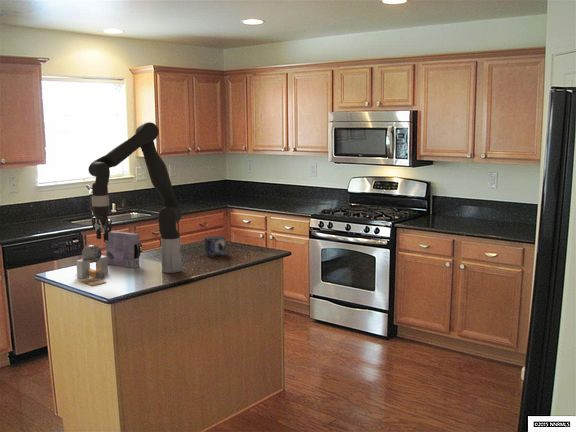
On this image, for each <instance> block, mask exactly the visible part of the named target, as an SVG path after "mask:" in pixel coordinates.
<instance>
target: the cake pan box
mask: <svg viewBox="0 0 576 432" xmlns="http://www.w3.org/2000/svg"><path fill="white" fill-rule="evenodd" d="M108 238H109V239H108V241H105V243H106V244H105V245H106V246H105V253H106V254H105V256H107V263H108V265H110V266H111V265H112V266H117V267H122V268H123V267H125V268H131V269H136V268H138V267H140V256H141V250H142V249H141V248H142V247H141V244H140V234H139V233H133V232H126V231H117V230H111V232H109V233H108Z"/></svg>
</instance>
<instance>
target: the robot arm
mask: <svg viewBox="0 0 576 432" xmlns="http://www.w3.org/2000/svg"><path fill="white" fill-rule="evenodd" d="M159 133H160V131H159V127H158V125H156V124H155V123H154V122H149V121H147V122H144V123H142V124H141V125H139V126H138V127H136V130H135V133H134V134H133V135H132V136H131V137H129V138H128V139H127V140H125V141H123V142H122V143H120V144H118V145H117V146H116V147H114V148H113V149H111V150H109V152H108V153H106V154H105V155H103V156H101V157H99V158H97V159H95V160H94V161H92V162H91V163H90V165H89V166H88V173H89V174H90V175H91V176H92V177H95V182H94V183H92V184H91V185H92V186H91V193H92V194H91V195H92V197H91V198H92V199H91V205H92V215H93V216H91V218H90V219H91V224H92V229H93V230H94V231H95V232H96V240H101V239H102V234H103V239H102V240H103V241H104V242H106V241H108V239H109V238H108V233H109V232H111V231H112V224H113V220H112V219H109V217H108V215H110V198H109V188H108V185H109V181H110V180H109V179H110V175H111V172H110V171H111V170H110V169H111V168H114V167H116V166H118V165H120V164H121V163H122V162H124V161H125V160H126V159H127V158H129V156H131V155H132V154H133V153H135V152H136V151H137V150H138V149H141V152H142V156H143V158H144V159H143V160H144V162H145V165H146V168H147V172H148V176H149V179H150V182H151V184H152V186H153V188H154V189H155V190H156V192H157V193H158V195H159V196H160V198H161V200H162V203H163V204H162V205H163V207H162V208H160V210H159V212H158V217H157V218H158V230H159V234H160V238H161V239H160V242H161V245H160V246H161V269H162V270H161V272H163V273H166V274H168V273H169V274H175V273H180V272H182V271H183V263H182V262H183V261H182V256H183V255H182V252H181V235H180V234H181V233H180V231H179V230H177V223H178V222H179V221H181V220H182V216H183V215H182V209H181V208H180V203H179V202H178V201H177V198H176V194H175V191H174V189H173V185H172V182H171V179H170V174H169V172H168V168H167V165H166V163H165V161H164V160H163V158H162V157H161V156H160V155H159V153H158V150H157V148H156V144H155V140H156V139H157V138H158V136H159Z"/></svg>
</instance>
